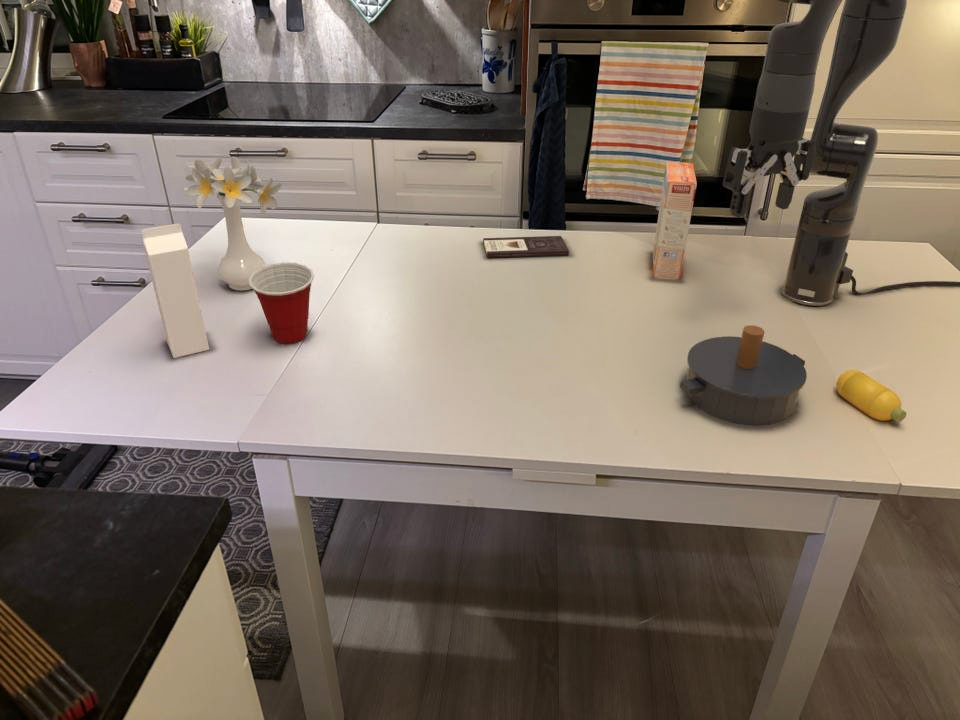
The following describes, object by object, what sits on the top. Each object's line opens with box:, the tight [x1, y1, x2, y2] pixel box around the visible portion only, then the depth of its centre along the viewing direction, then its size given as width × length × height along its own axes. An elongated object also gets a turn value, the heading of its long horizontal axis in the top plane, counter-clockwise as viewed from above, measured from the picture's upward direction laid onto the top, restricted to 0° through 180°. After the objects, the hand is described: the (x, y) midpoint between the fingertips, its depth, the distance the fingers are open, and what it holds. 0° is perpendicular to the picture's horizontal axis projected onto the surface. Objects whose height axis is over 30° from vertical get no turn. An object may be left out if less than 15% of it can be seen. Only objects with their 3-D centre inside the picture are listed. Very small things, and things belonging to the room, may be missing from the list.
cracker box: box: [652, 161, 698, 280], centre depth 153 cm, size 14×6×21 cm, turn 168°
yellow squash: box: [836, 369, 907, 423], centre depth 112 cm, size 11×5×5 cm, turn 22°
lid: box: [686, 324, 808, 399], centre depth 112 cm, size 17×17×7 cm
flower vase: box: [185, 156, 283, 292], centre depth 143 cm, size 13×18×25 cm
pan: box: [679, 353, 806, 426], centre depth 115 cm, size 16×22×6 cm
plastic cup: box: [249, 261, 315, 345], centre depth 128 cm, size 11×11×12 cm
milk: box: [140, 223, 210, 359], centre depth 122 cm, size 6×6×22 cm
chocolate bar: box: [482, 235, 570, 259], centre depth 166 cm, size 9×1×18 cm
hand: (759, 211), depth 114 cm, fingers open, 8 cm apart
